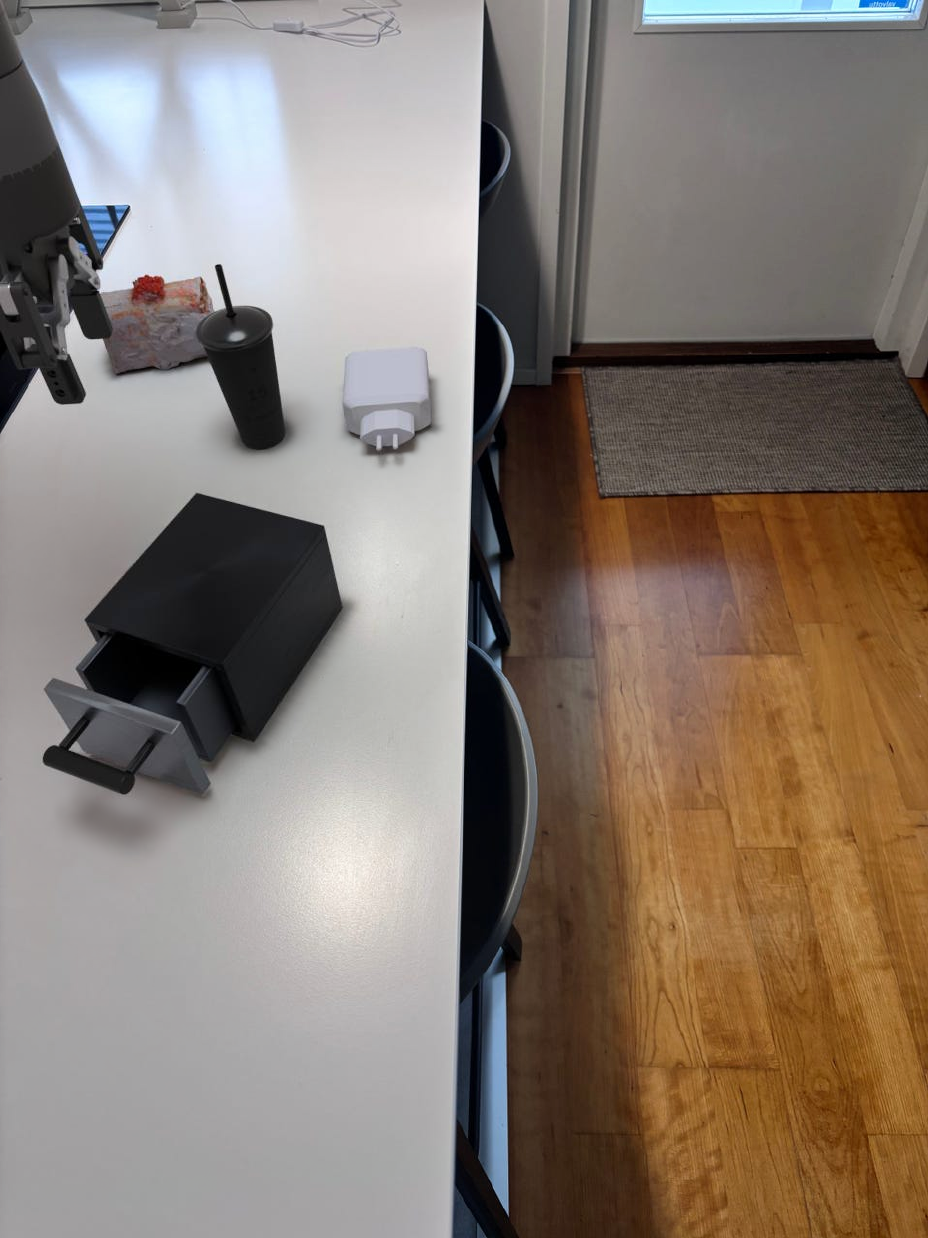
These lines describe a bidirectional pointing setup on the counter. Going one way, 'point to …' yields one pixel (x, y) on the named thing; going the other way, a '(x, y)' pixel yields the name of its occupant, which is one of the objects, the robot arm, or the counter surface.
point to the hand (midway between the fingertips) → (86, 367)
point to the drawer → (140, 717)
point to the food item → (156, 323)
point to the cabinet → (230, 600)
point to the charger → (386, 395)
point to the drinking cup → (245, 368)
